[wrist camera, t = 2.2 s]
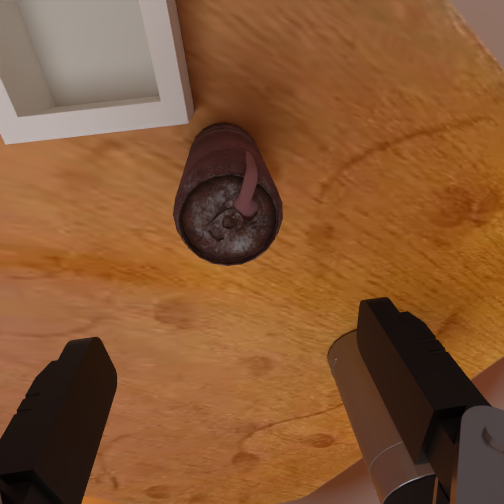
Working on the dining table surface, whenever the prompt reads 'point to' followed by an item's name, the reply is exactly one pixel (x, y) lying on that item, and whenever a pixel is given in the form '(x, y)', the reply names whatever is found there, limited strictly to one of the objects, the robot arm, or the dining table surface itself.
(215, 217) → the can
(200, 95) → the dining table surface
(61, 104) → the well
